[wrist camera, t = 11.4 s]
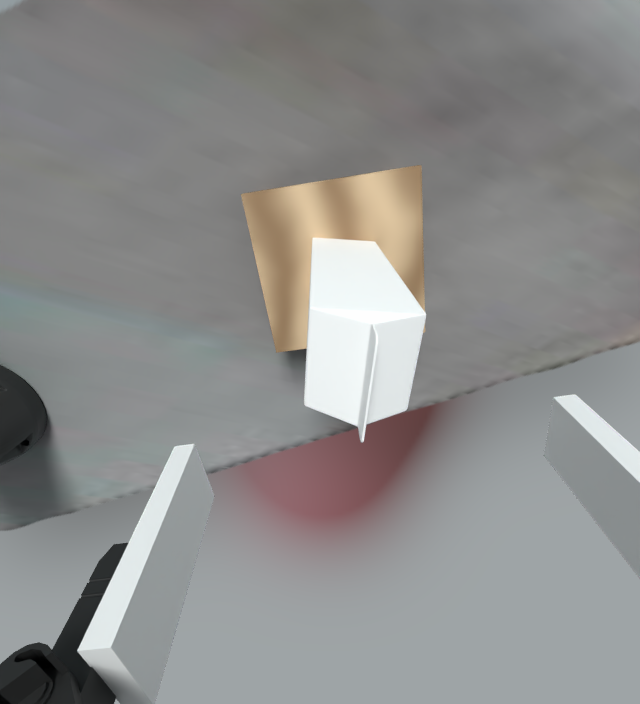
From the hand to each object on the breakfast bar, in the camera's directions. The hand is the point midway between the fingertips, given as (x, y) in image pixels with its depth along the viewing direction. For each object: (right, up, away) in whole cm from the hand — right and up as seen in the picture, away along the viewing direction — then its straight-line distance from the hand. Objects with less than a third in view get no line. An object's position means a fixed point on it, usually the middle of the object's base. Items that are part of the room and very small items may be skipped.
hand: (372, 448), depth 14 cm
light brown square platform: (0, +14, +28) cm, 32 cm away
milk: (0, +12, +23) cm, 26 cm away
